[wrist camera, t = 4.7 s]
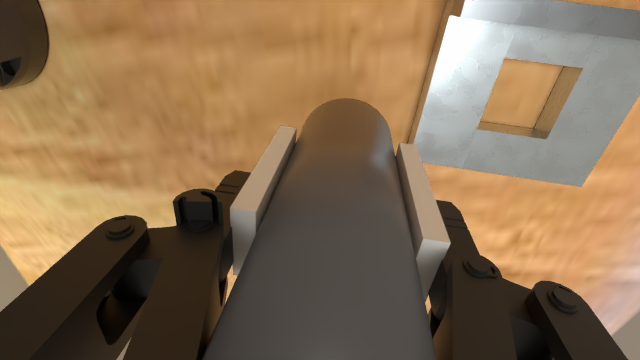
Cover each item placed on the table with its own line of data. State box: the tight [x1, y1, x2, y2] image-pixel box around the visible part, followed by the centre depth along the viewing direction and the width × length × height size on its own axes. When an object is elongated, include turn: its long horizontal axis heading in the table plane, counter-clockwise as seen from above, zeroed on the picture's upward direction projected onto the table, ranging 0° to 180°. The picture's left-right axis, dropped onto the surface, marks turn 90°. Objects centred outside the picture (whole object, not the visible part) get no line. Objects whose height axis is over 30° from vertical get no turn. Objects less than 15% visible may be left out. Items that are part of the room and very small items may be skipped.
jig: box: [408, 0, 640, 187], centre depth 26 cm, size 16×14×6 cm
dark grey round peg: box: [201, 99, 437, 360], centre depth 11 cm, size 5×5×13 cm
